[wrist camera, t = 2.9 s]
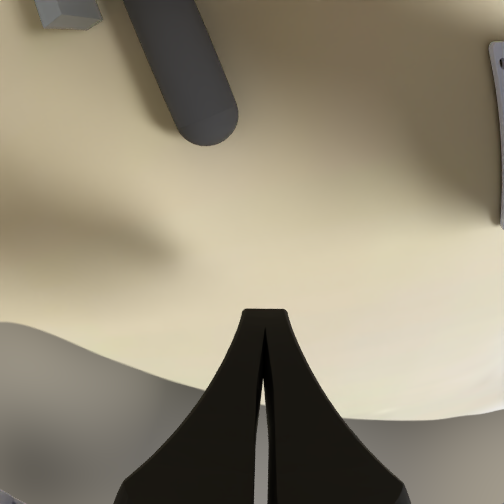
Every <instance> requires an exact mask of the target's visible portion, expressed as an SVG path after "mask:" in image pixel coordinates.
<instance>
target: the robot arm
mask: <svg viewBox="0 0 504 504" xmlns="http://www.w3.org/2000/svg"><path fill="white" fill-rule="evenodd" d="M489 55H490V60H491V65H492V70H493V76H494V82H495V88H496V95H497V103H498V111H499V121H500V134H501V151H502V202H501V220H500V225H501V228H502V229H503V230H504V41H493V42H491V43H490V44H489ZM500 59H501V61H502V67H500V62H499V61H500ZM263 380H264V391H265V403H266V414H267V425H268V439H269V460H268V503H267V504H411V502H410V499H409V496H408V493H407V490H406V488H405V485H404V483H403V482H402V481H400V480H399V479H398V478H397V477H396V476H395V475H393V473H392V472H390V471H389V470H388V469H387V468H386V467H385V466H384V465H383V464H382V463H381V462H380V461H379V460H378V459H377V458H376V457H375V456H374V455H373V454H372V453H371V452H370V451H369V450H368V449H367V448H366V447H365V445H363V443H362V442H361V441H360V440H359V439H358V437H357V436H356V435H355V434H354V433H353V431H352V430H351V429H350V428H349V427H348V425H347V424H346V423H345V422H344V420H343V419H342V418H341V416H340V415H339V413H338V412H337V411H336V409H335V408H334V406H333V405H332V404H331V402H330V401H329V399H328V398H327V396H326V394H325V393H324V391H323V390H322V388H321V386H320V385H319V383H318V381H317V380H316V378H315V376H314V374H313V373H312V371H311V369H310V367H309V365H308V363H307V361H306V359H305V357H304V355H303V353H302V351H301V349H300V346H299V344H298V342H297V339H296V337H295V335H294V332H293V329H292V327H291V324H290V320H289V317H288V313H287V311H286V310H285V309H245V310H243V311H242V315H241V319H240V322H239V325H238V328H237V331H236V334H235V336H234V338H233V341H232V343H231V345H230V347H229V349H228V351H227V354H226V356H225V358H224V360H223V362H222V364H221V365H220V367H219V369H218V371H217V372H216V374H215V376H214V378H213V379H212V381H211V383H210V384H209V386H208V388H207V389H206V391H205V392H204V394H203V395H202V397H201V398H200V400H199V401H198V403H197V404H196V405H195V407H194V408H193V409H192V411H191V413H189V415H188V416H187V417H186V418H185V420H184V421H183V422H182V424H181V425H180V426H179V427H178V428H177V430H176V431H175V432H174V433H173V434H172V435H171V436H170V437H169V439H167V441H166V442H165V443H164V444H163V445H162V446H161V447H160V448H159V449H158V450H157V451H156V452H155V453H154V454H153V455H152V456H151V457H150V458H149V459H148V460H147V461H146V462H145V463H143V464H142V465H141V466H140V467H139V468H138V469H137V470H136V471H134V472H133V473H132V474H131V475H130V476H129V477H127V478H126V479H125V480H124V481H123V483H122V485H121V487H120V489H119V491H118V493H117V496H116V498H115V501H114V504H254V476H255V445H256V433H257V425H258V417H259V409H260V401H261V392H262V384H263ZM0 504H26V503H24V502H22V501H20V500H18V499H16V498H14V497H13V496H11V495H10V494H8V493H6V492H5V491H3V490H1V489H0ZM502 504H504V503H502Z"/></svg>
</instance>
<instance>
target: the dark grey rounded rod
mask: <svg viewBox="0 0 504 504" xmlns="http://www.w3.org/2000/svg"><path fill="white" fill-rule="evenodd" d="M123 2H124V4H125V7H126V9H127V12H128V14H129V17H130V19H131V21H132V24H133V26H134V29H135V31H136V33H137V36H138V38H139V41H140V43H141V45H142V48H143V50H144V52H145V55H146V57H147V59H148V62H149V64H150V67H151V69H152V71H153V74H154V76H155V78H156V81H157V83H158V85H159V88H160V90H161V92H162V95H163V97H164V99H165V101H166V104H167V106H168V108H169V111H170V113H171V115H172V118H173V120H174V122H175V124H176V127H177V129H178V130H179V132H180V134H181V135H182V136H183V137H184V138H185V139H186V140H188V141H189V142H191V143H193V144H196V145H200V146H211V145H216V144H218V143H221V142H222V141H224V140H225V139H227V138H228V137H229V136H230V135H231V134H232V132H233V131H234V129H235V127H236V125H237V122H238V108H237V104H236V101H235V99H234V96H233V94H232V91H231V89H230V86H229V84H228V81H227V79H226V76H225V74H224V71H223V69H222V66H221V64H220V61H219V59H218V56H217V54H216V52H215V49H214V47H213V44H212V42H211V39H210V37H209V35H208V32H207V30H206V28H205V25H204V23H203V20H202V18H201V16H200V13H199V11H198V9H197V6H196V4H195V2H194V0H123Z"/></svg>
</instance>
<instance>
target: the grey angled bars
mask: <svg viewBox="0 0 504 504" xmlns="http://www.w3.org/2000/svg"><path fill="white" fill-rule="evenodd" d="M34 1H35V4H36V7H37V10H38V13H39V16H40V19H41V22H42V25H43V28H49V29H77V30H88V29H89V28H91V27H93V26H94V25H96V24H97V23H99V22H100V21H102V20H103V19H102V16H101V14H100V11H99V9H98V6H97V4H96V1H95V0H34Z"/></svg>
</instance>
